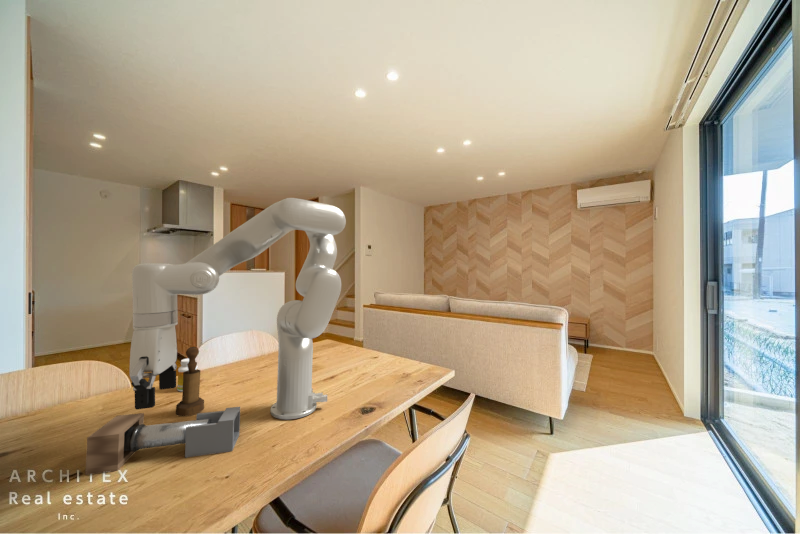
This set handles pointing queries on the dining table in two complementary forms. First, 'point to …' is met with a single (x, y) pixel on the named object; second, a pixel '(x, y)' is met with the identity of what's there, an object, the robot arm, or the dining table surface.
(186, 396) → the brown wooden upright piece
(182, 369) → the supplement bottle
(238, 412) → the sleeve
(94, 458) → the socket block
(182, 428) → the slip tube
